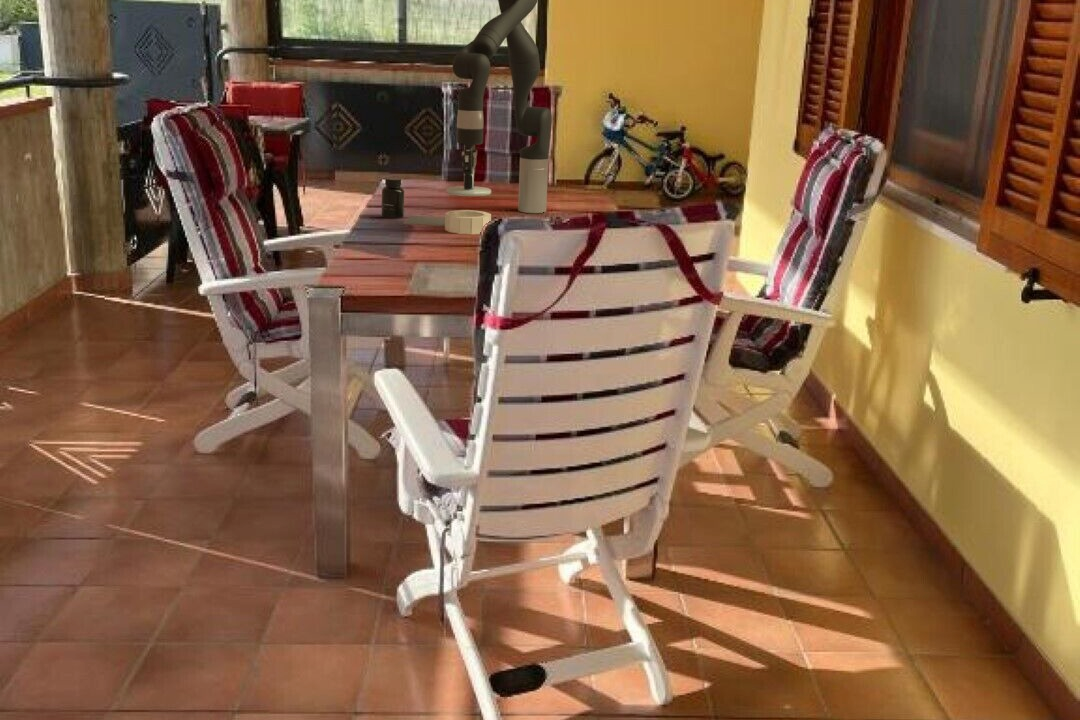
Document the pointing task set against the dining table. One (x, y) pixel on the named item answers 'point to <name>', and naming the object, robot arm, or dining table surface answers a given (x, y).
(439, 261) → the dining table surface
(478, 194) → the lid
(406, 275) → the dining table surface
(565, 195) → the dining table surface
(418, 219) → the mat
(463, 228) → the bowl
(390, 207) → the supplement bottle
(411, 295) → the dining table surface
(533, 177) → the robot arm
